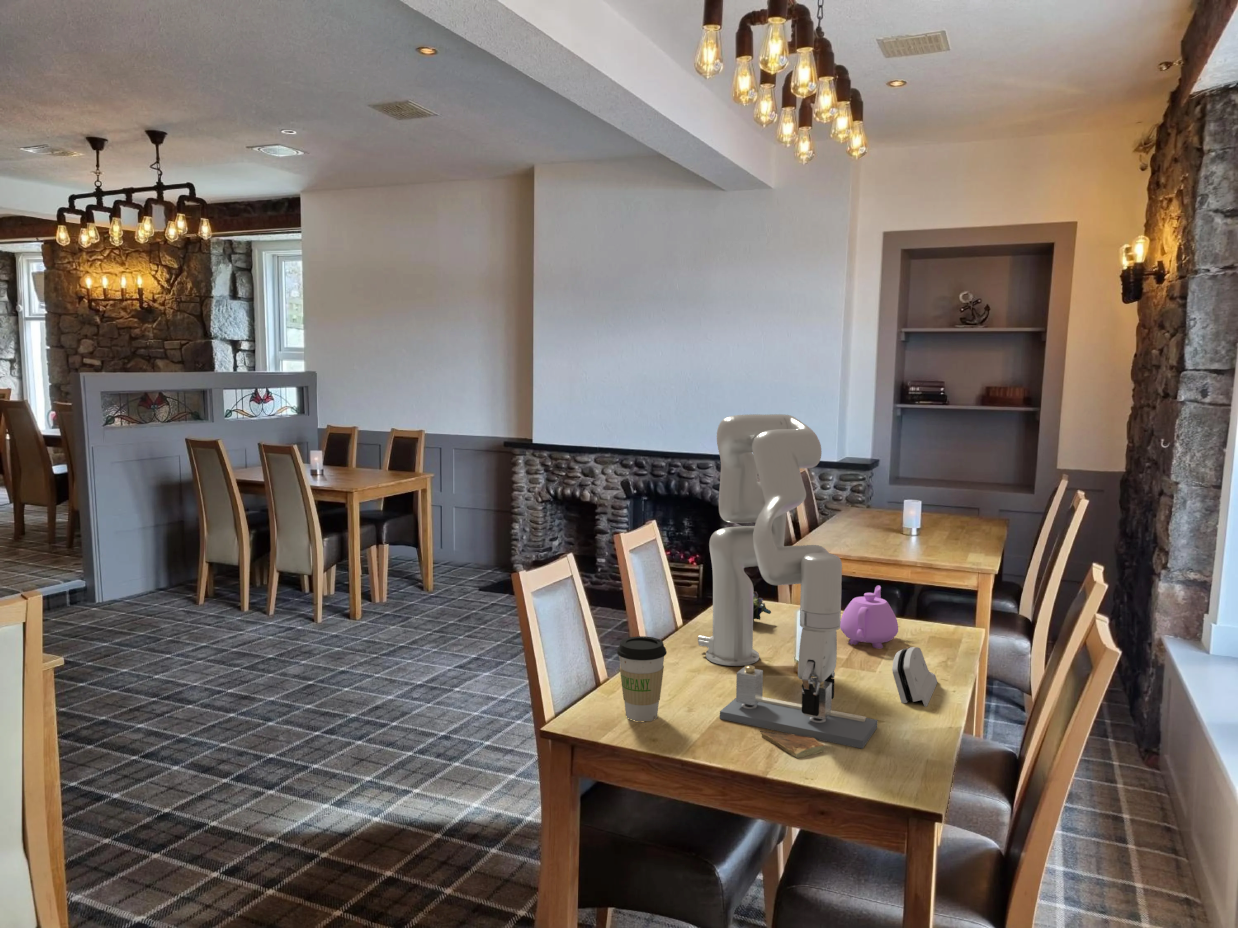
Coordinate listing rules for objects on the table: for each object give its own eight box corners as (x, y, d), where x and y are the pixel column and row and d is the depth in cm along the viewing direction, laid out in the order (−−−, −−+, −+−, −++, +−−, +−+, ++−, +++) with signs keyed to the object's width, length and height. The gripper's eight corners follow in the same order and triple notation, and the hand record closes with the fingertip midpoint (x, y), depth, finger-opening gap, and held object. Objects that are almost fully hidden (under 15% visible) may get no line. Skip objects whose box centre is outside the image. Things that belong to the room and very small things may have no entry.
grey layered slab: (926, 707, 179) (910, 659, 179) (903, 710, 181) (888, 664, 181) (937, 681, 193) (923, 637, 194) (916, 685, 196) (902, 642, 196)
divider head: (804, 718, 168) (805, 679, 167) (810, 711, 171) (811, 673, 170) (825, 722, 166) (825, 683, 165) (831, 715, 169) (832, 677, 168)
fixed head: (736, 704, 175) (736, 667, 174) (743, 698, 178) (744, 662, 177) (755, 708, 173) (755, 671, 172) (762, 702, 176) (762, 665, 175)
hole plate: (719, 718, 173) (719, 708, 172) (740, 700, 182) (740, 691, 182) (862, 748, 159) (862, 737, 159) (877, 727, 168) (877, 717, 168)
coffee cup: (609, 711, 177) (609, 638, 175) (653, 703, 180) (653, 632, 179) (629, 729, 168) (629, 653, 166) (674, 721, 171) (675, 646, 170)
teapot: (851, 626, 235) (852, 581, 234) (906, 634, 228) (907, 587, 227) (830, 647, 218) (831, 598, 216) (889, 656, 211) (890, 605, 209)
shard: (759, 738, 165) (759, 729, 164) (792, 731, 168) (792, 722, 168) (795, 761, 155) (795, 751, 155) (829, 753, 158) (829, 743, 158)
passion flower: (750, 640, 241) (777, 606, 240) (742, 644, 231) (770, 609, 229) (718, 613, 245) (745, 580, 243) (709, 616, 235) (737, 581, 233)
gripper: (814, 605, 176) (812, 688, 177) (786, 627, 161) (784, 717, 163) (852, 610, 172) (849, 694, 174) (826, 633, 157) (824, 725, 159)
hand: (818, 705), depth 168 cm, fingers open, 9 cm apart
